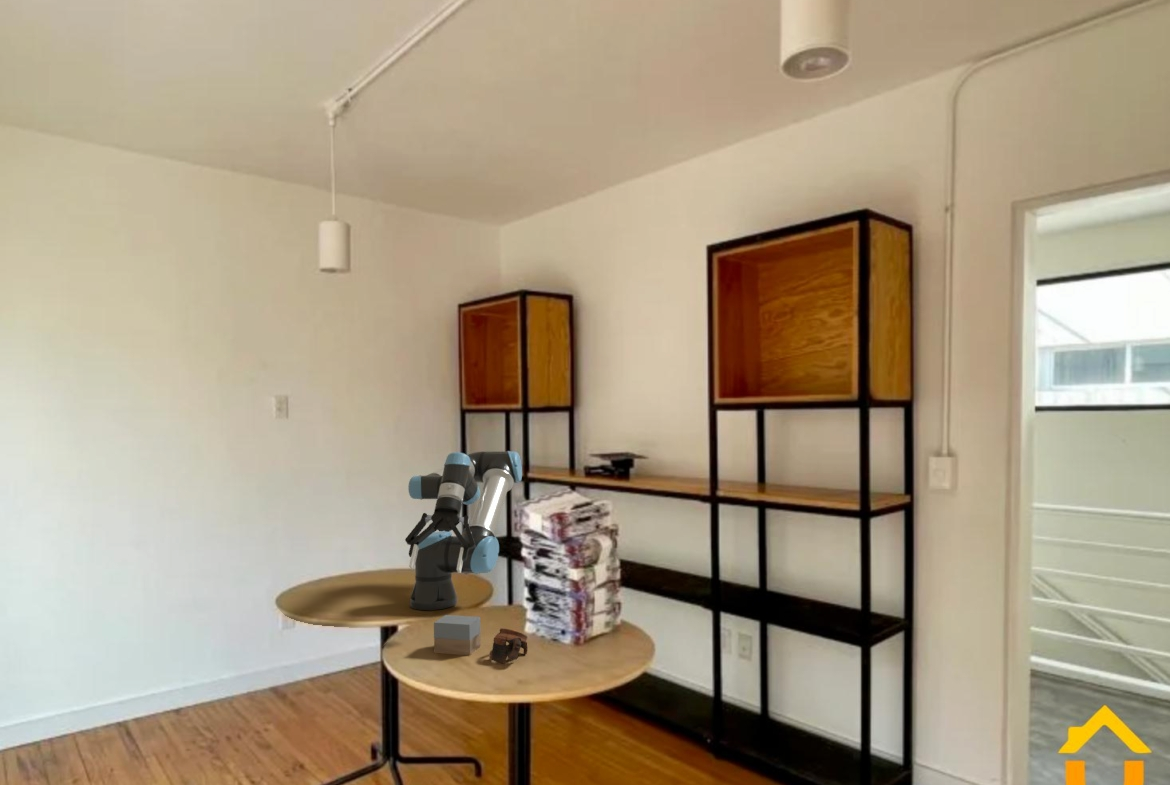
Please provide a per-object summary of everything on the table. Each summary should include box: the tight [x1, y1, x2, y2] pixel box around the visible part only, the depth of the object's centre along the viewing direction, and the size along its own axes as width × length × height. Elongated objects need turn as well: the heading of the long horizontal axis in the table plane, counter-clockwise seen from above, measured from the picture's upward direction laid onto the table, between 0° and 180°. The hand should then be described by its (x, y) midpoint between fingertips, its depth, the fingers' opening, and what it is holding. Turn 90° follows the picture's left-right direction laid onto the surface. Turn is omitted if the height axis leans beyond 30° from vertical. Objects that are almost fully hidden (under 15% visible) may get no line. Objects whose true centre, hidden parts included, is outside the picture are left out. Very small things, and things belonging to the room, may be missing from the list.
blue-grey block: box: [433, 614, 481, 641], centre depth 181 cm, size 7×10×4 cm
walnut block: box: [433, 631, 482, 656], centre depth 181 cm, size 7×10×4 cm
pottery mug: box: [488, 628, 529, 664], centre depth 174 cm, size 12×10×8 cm
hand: (434, 569), depth 194 cm, fingers open, 13 cm apart
